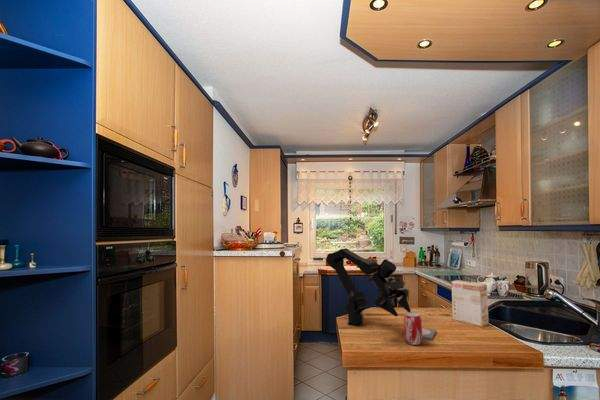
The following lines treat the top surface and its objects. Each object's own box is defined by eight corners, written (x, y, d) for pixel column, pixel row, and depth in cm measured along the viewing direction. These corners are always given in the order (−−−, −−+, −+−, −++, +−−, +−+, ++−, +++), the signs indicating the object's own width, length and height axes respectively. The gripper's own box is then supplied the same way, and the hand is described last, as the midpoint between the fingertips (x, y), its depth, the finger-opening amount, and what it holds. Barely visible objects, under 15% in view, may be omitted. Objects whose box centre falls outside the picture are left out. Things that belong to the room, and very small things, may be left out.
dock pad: (403, 335, 150) (403, 332, 150) (409, 328, 160) (409, 325, 161) (431, 340, 144) (431, 337, 144) (436, 332, 154) (436, 329, 154)
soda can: (423, 346, 138) (422, 316, 138) (405, 345, 139) (404, 316, 140) (421, 340, 145) (420, 312, 145) (403, 339, 146) (403, 311, 147)
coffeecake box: (489, 324, 165) (487, 283, 166) (481, 327, 161) (479, 285, 162) (459, 316, 177) (458, 279, 178) (452, 319, 173) (450, 281, 174)
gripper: (378, 276, 146) (401, 306, 136) (404, 271, 157) (427, 299, 148) (365, 291, 151) (386, 322, 142) (391, 285, 163) (412, 313, 153)
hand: (403, 313), depth 146 cm, fingers open, 9 cm apart
